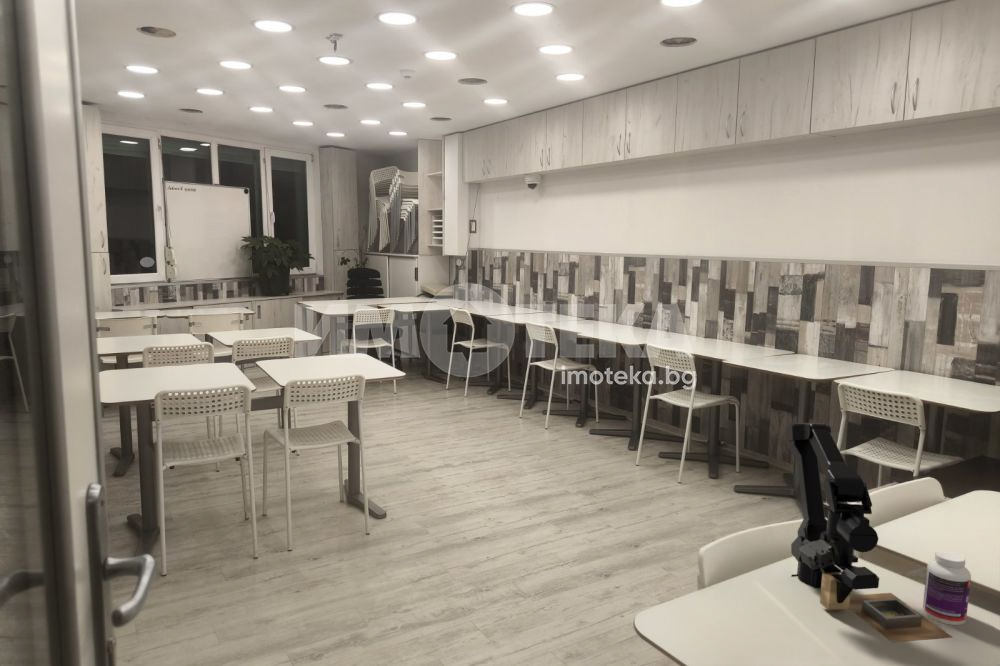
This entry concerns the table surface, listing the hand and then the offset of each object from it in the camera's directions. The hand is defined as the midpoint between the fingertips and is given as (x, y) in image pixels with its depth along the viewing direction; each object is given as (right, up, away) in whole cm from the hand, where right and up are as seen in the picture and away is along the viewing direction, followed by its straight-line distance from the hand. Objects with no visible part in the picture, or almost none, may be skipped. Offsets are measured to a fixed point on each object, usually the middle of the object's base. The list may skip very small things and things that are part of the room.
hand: (834, 598), depth 151 cm
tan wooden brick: (0, -2, 0) cm, 2 cm away
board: (+11, -4, -2) cm, 12 cm away
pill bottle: (+23, -4, -1) cm, 24 cm away
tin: (+11, -3, -3) cm, 11 cm away
